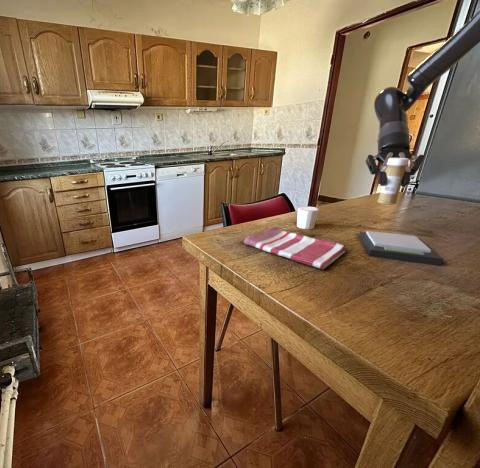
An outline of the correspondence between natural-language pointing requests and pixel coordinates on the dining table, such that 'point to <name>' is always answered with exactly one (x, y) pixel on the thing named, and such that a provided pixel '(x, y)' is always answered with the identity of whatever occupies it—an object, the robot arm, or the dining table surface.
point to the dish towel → (297, 247)
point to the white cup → (307, 217)
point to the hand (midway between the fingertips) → (393, 184)
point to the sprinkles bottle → (393, 180)
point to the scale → (399, 247)
